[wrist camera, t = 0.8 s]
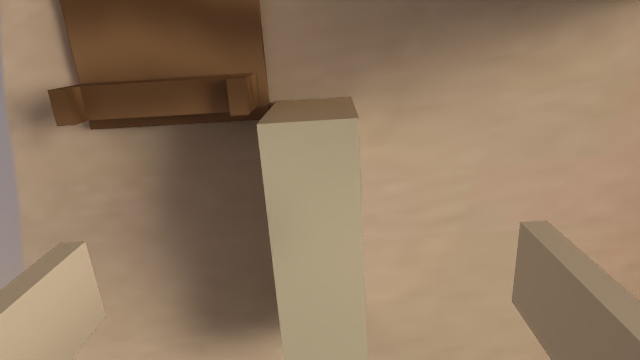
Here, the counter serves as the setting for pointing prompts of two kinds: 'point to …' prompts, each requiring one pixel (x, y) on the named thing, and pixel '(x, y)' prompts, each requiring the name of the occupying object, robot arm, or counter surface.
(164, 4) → the brown wooden frame
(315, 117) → the clay bar
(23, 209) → the counter surface
